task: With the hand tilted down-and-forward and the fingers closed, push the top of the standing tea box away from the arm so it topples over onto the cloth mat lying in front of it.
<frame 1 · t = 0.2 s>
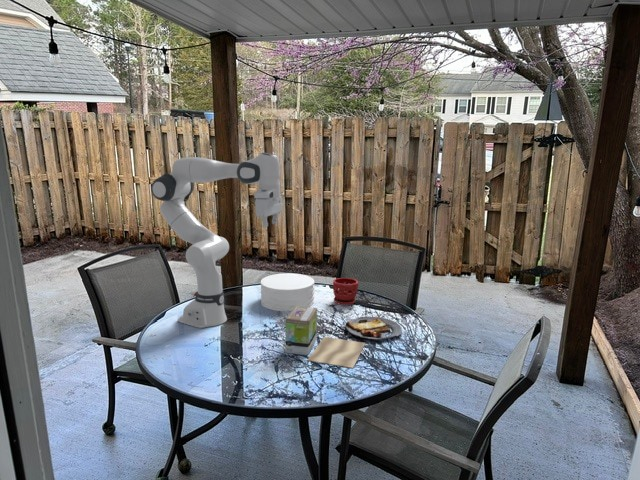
hand: (270, 225, 186), 48 cm above the table, tool pointing down, fingers open, 8 cm apart
plant pot: (345, 302, 232), on the table
tea box: (301, 346, 182), on the table
food plate: (372, 331, 197), on the table
plate stack: (287, 302, 233), on the table
cloth mat: (337, 351, 177), on the table
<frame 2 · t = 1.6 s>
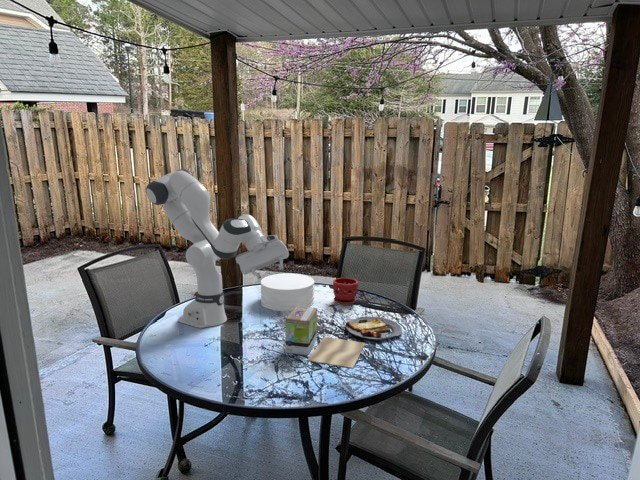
hand: (270, 273, 172), 32 cm above the table, tool tilted 55°, fingers open, 8 cm apart
nothing on the table moved.
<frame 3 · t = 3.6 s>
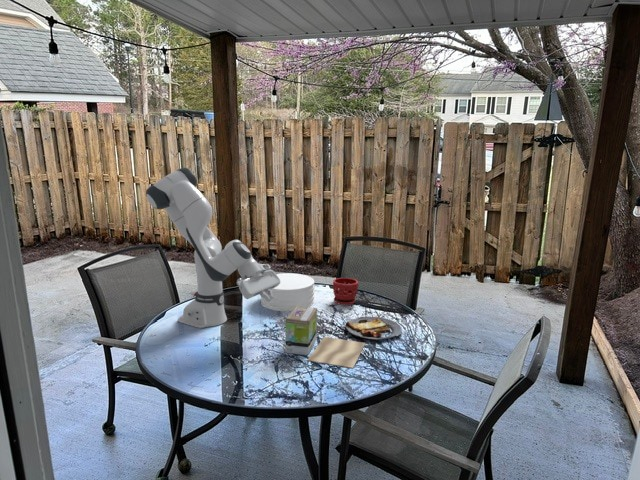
hand: (270, 299, 182), 18 cm above the table, tool tilted 45°, fingers closed
nothing on the table moved.
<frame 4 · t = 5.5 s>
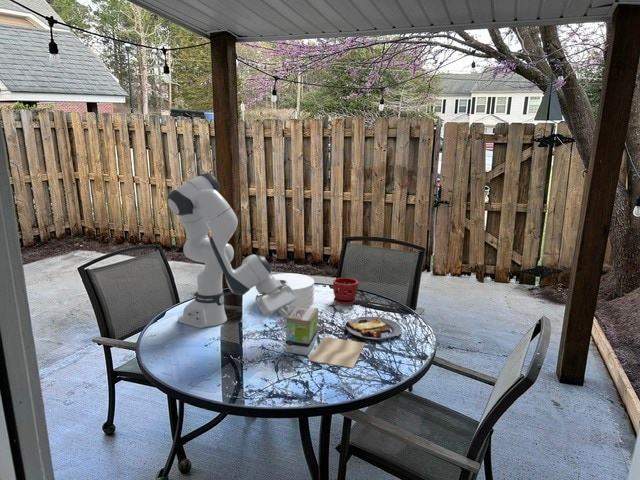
hand: (289, 316, 180), 12 cm above the table, tool tilted 45°, fingers closed
tea box: (301, 346, 182), on the table, touching gripper
everything else where it was.
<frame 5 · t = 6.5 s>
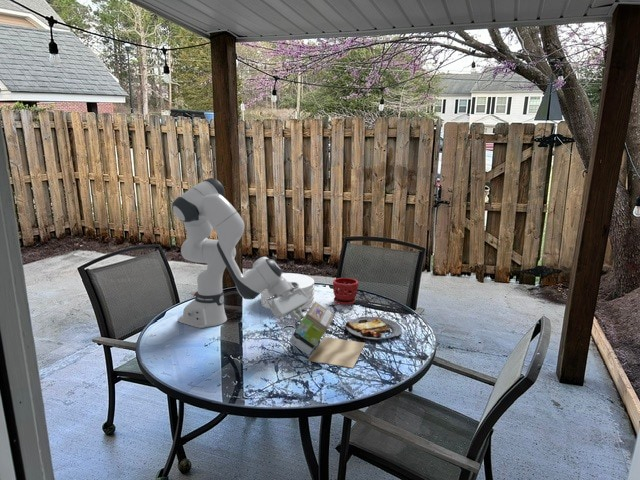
hand: (301, 319, 177), 13 cm above the table, tool tilted 45°, fingers closed
tea box: (302, 341, 181), point 2 cm above the table, touching gripper
everything else where it was.
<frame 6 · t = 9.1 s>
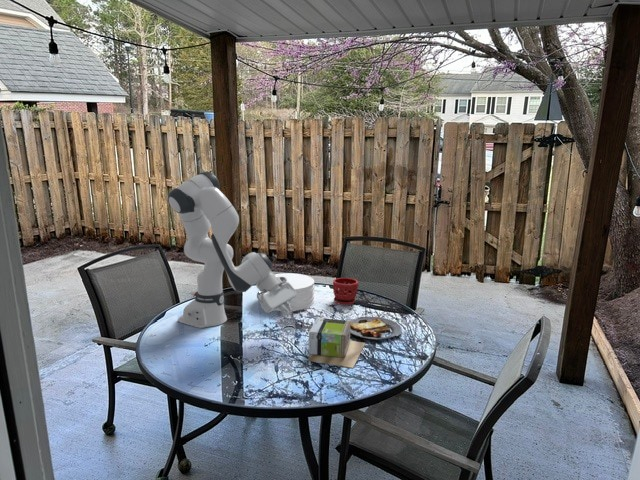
hand: (289, 312, 182), 13 cm above the table, tool tilted 45°, fingers closed
tea box: (312, 335, 180), point 5 cm above the table, touching cloth mat
everything else where it was.
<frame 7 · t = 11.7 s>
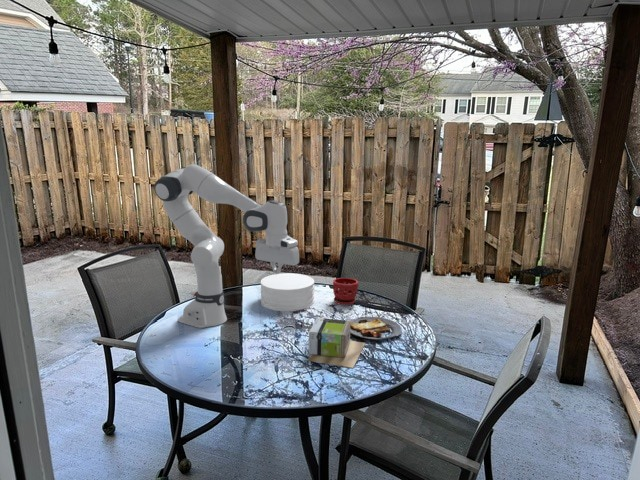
hand: (276, 272, 184), 29 cm above the table, tool pointing down, fingers closed
nothing on the table moved.
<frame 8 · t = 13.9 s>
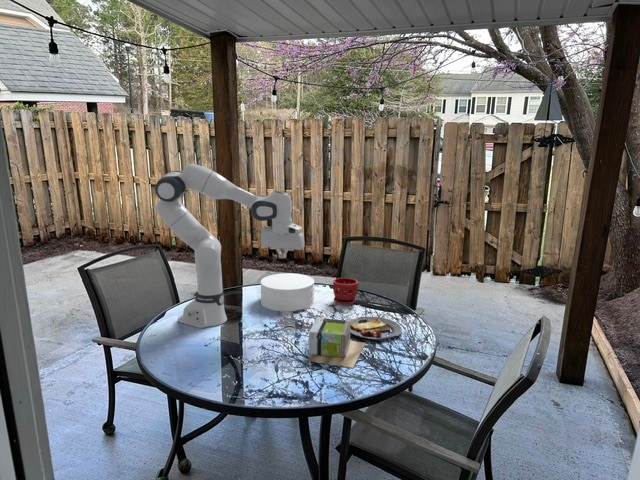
hand: (282, 257, 199), 31 cm above the table, tool pointing down, fingers closed
nothing on the table moved.
at the end: tea box tilted 89°; tea box inside the target area (8.1 cm from its centre), point 5.2 cm above the table; tea box moved 6.9 cm from its start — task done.
